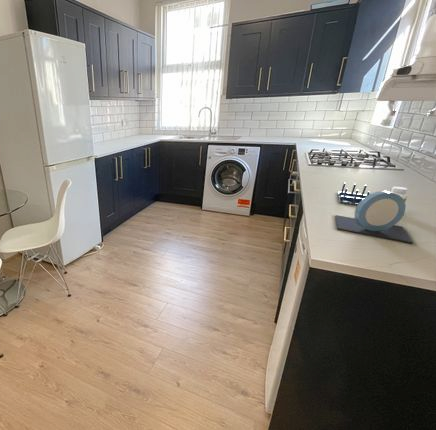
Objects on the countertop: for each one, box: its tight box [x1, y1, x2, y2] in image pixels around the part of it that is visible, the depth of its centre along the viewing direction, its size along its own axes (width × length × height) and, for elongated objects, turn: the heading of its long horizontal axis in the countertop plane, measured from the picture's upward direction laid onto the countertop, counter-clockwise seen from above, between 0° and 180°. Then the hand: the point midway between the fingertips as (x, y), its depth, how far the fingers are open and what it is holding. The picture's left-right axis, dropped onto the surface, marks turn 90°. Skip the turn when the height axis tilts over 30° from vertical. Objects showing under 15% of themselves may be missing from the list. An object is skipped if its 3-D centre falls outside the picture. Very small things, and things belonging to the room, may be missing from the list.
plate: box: [354, 190, 406, 231], centre depth 88 cm, size 2×13×13 cm
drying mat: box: [335, 214, 413, 245], centre depth 93 cm, size 18×14×1 cm
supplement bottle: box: [391, 186, 409, 203], centre depth 105 cm, size 5×5×10 cm
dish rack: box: [337, 182, 371, 207], centre depth 119 cm, size 10×16×6 cm, turn 145°
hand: (410, 116), depth 92 cm, fingers open, 8 cm apart
